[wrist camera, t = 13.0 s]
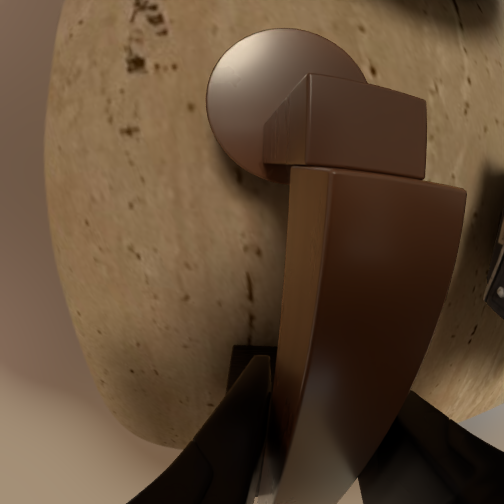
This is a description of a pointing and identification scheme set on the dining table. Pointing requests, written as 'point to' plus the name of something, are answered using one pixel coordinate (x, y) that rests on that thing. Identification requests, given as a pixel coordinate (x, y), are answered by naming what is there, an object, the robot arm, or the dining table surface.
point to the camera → (496, 274)
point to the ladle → (338, 249)
